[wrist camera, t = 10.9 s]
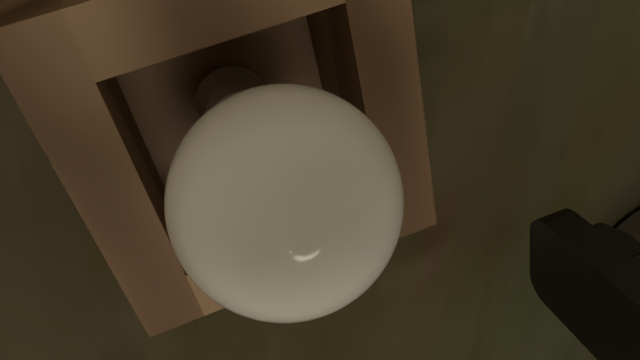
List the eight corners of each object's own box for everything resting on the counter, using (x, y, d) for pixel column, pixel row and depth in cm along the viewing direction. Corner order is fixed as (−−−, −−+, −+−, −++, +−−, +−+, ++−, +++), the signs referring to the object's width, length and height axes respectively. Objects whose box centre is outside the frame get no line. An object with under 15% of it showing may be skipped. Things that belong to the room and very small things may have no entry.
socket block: (332, -109, 20) (400, -92, 16) (378, 157, 26) (436, 223, 22) (6, -15, 18) (-23, 34, 14) (139, 245, 24) (149, 337, 20)
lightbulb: (133, 10, 19) (173, 167, 10) (312, 8, 21) (474, 138, 12) (147, 174, 22) (188, 402, 14) (302, 159, 24) (425, 349, 16)
